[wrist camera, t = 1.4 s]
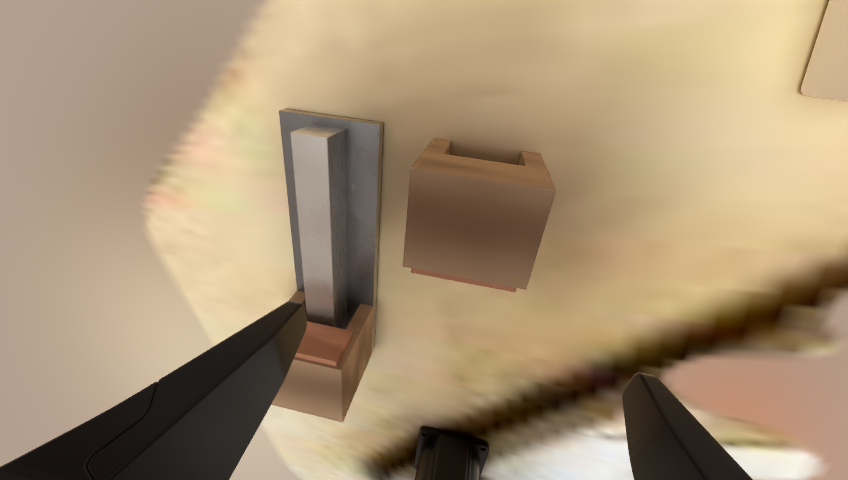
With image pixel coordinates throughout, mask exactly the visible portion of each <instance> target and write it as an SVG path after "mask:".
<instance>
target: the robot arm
mask: <svg viewBox="0 0 848 480" xmlns="http://www.w3.org/2000/svg"><path fill="white" fill-rule="evenodd" d="M306 328H307V319H306V313H305V307H304V305H303V304H302V303H298V302H293V301H289V302H286V303H285V304H283V305H281V306H280V307H278V308H276V309H275V310H273V311H271V312H270V313H268V314H267V315H265V316H263V317H262V318H260V319H258V320H257V321H255V322H253V323H252V324H250V325H248V326H247V327H245V328H243V329H242V330H240V331H239V332H237V333H235V334H234V335H232V336H230V337H229V338H227V339H225V340H224V341H222V342H220V343H219V344H217V345H216V346H214V347H212V348H211V349H209V350H207V351H206V352H204V353H202V354H201V355H199V356H198V357H196V358H194V359H193V360H191V361H189V362H188V363H186V364H184V365H183V366H181V367H179V368H178V369H176V370H174V371H173V372H171V373H170V374H168V375H166V376H165V377H163V378H161V379H160V380H159V381H158V382H155V383H153V384H151V385H150V386H148V387H147V388H145V389H143V390H142V391H140V392H138V393H136V394H135V395H133V396H131V397H129V398H128V399H126V400H124V401H123V402H121V403H119V404H118V405H116V406H114V407H112V408H111V409H109V410H107V411H105V412H103V413H101V414H100V415H98V416H96V417H94V418H92V419H91V420H89V421H87V422H85V423H83V424H81V425H79V426H77V427H75V428H74V429H72V430H70V431H68V432H66V433H64V434H62V435H60V436H59V437H57V438H55V439H53V440H51V441H49V442H47V443H45V444H43V445H42V446H39V447H38V448H36V449H34V450H32V451H30V452H28V453H26V454H24V455H22V456H20V457H19V458H17V459H15V460H13V461H11V462H9V463H7V464H5V465H3V466H1V467H0V480H229V479H230V477H231V475H232V473H233V471H234V470H235V468H236V466H237V464H238V463H239V461H240V459H241V457H242V455H243V454H244V452H245V450H246V448H247V447H248V445H249V443H250V441H251V439H252V438H253V436H254V434H255V432H256V431H257V429H258V427H259V425H260V423H261V422H262V420H263V418H264V416H265V414H266V413H267V411H268V409H269V407H270V406H271V404H272V402H273V400H274V398H275V397H276V395H277V393H278V391H279V390H280V388H281V386H282V384H283V382H284V380H285V378H286V376H287V374H288V371H289V369H290V367H291V364H292V362H293V360H294V357H295V355H296V353H297V350H298V348H299V346H300V343H301V341H302V339H303V336H304V334H305V332H306ZM622 401H623V409H624V417H625V425H626V433H627V441H628V450H629V456H630V462H631V467H632V472H633V476H634V480H753V479H752V478H751V477H750V476H749V475H748V474H747V473H746V472H745V471H744V470H743V469H742V468H741V467H740V465H739V464H738V463H737V462H736V461H735V460H734V459H733V458H732V457H731V456H730V455H729V454H728V453H727V452H726V450H725V449H724V448H723V447H722V446H721V445H720V444H719V443H718V442H717V441H716V440H715V439H714V438H713V437H712V436H711V434H710V433H709V432H708V431H707V430H706V429H705V428H704V427H703V426H702V425H701V424H700V423H699V422H698V421H697V419H696V418H695V417H694V416H693V415H692V414H691V413H690V412H689V411H688V410H687V409H686V408H685V407H684V406H683V405H682V403H681V402H680V401H679V400H678V399H677V398H676V397H675V396H674V395H673V394H672V393H671V392H670V391H669V390H668V388H667V387H666V386H665V385H664V384H663V383H662V382H661V381H660V380H659V379H658V378H657V377H655V376H653V375H650V374H645V373H636V374H635V375H634V376H633V378H632V379H631V380H630V382H629V383H628V385H627V386H626V388H625V389H624V391H623V395H622ZM488 452H489V444H488V443H486V442H483V441H479V440H475V439H471V438H467V437H462V436H458V435H454V434H450V433H446V432H442V431H438V430H434V429H430V428H425V427H422V428H420V431H419V436H418V443H417V450H416V456H415V463H414V467H415V468H416V469H417V471H416V477H415V480H479V479H480V476H481V473H482V470H483V467H484V464H485V461H486V458H487V455H488Z"/></svg>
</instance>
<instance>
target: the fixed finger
mask: <svg viewBox="0 0 848 480" xmlns="http://www.w3.org/2000/svg"><path fill="white" fill-rule="evenodd" d="M289 301H293V302H298V303H302V304H303V305H304V307H305V313H306V319H307V312H306V301H305V292H302V291H297V292H296V293H295V294H294V295H293V296H292V297H291V299H290V300H289ZM289 301H288V302H289ZM372 328H373V306H370V305H365V304H360V305H359V307H358V309H357V310H356V312H355V314H354V316H353V318H352V319H351V321H350V323H349V325H348V327H347V328H346V330H345V329H340V328H336V327H331V326H327V325H322V324H317V323H313V322H308V321H307V328H306V332H305V334H304V336H303V339H302V341H301V343H300V346H299V348H298V350H297V353H296V355H295V357H294V360H293V362H292V364H291V367H290V369H289V371H288V374H287V376H286V378H285V380H284V382H283V384H282V386H281V388H280V390H279V391H278V393H277V395H276V397H275V398H274V400H273V402H272V404H271V405H275V406H279V407H283V408H287V409H291V410H295V411H299V412H303V413H307V414H311V415H315V416H319V417H323V418H327V419H331V420H335V421H339V422H343V421H344V418H345V416H346V413H347V411H348V409H349V406H350V404H351V402H352V399H353V397H354V394H355V392H356V390H357V387H358V385H359V383H360V380H361V378H362V376H363V373H364V371H365V368H366V366H367V364H368V361H369V359H370V357H371V354H372Z"/></svg>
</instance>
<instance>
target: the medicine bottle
mask: <svg viewBox="0 0 848 480" xmlns="http://www.w3.org/2000/svg"><path fill="white" fill-rule="evenodd" d="M801 92H802V94H803V95H805V96H810V97H818V98H826V99H833V100H841V101H848V0H829V3H828V6H827V9H826V12H825V15H824V18H823V21H822V24H821V27H820V31H819V34H818V37H817V40H816V43H815V46H814V49H813V52H812V55H811V59H810V62H809V65H808V68H807V71H806V74H805V77H804V80H803V83H802V87H801Z"/></svg>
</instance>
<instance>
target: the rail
mask: <svg viewBox="0 0 848 480" xmlns="http://www.w3.org/2000/svg"><path fill="white" fill-rule="evenodd" d="M279 115H280V125H281V135H282V145H283V155H284V164H285V174H286V184H287V194H288V204H289V214H290V223H291V233H292V243H293V253H294V263H295V272H296V282H297V291H302V292H305V301H306V312H307V321H308V322H313V323H317V324H322V325H327V326H331V327H336V328H340V329H345V330H346V328H347V327H348V325H349V323H350V321H351V319H352V318H353V316H354V314H355V312H356V310H357V309H358V307H359V305H360V304H365V305H370V306H373V328H372V352H373V349H374V347H375V326H376V300H377V275H378V249H379V224H380V198H381V173H382V148H383V122H377V121H369V120H362V119H355V118H348V117H341V116H334V115H327V114H320V113H313V112H305V111H298V110H291V109H284V110H280V111H279Z"/></svg>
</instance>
